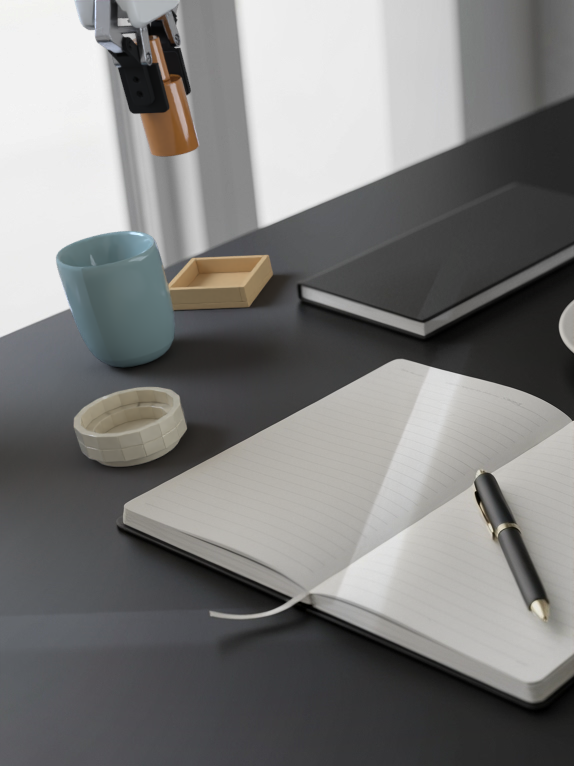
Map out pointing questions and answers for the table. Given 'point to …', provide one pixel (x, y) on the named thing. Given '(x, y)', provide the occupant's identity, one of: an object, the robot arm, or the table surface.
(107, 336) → the cup
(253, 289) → the tray
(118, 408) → the bowl
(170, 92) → the bottle
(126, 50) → the robot arm
